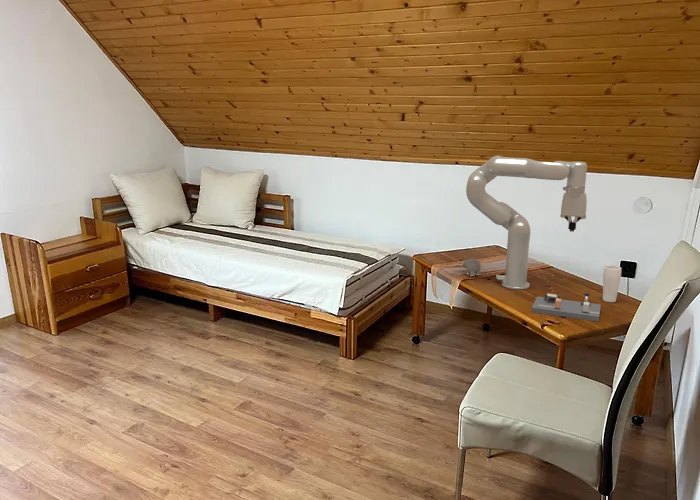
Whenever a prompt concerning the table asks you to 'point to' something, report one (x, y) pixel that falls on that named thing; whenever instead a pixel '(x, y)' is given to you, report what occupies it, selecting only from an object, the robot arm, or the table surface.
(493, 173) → the robot arm
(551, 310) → the switch panel
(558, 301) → the slide paddle
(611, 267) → the drinking glass
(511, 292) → the table surface
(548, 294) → the rocker switch
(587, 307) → the slide paddle
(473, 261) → the toy rhinoceros
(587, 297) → the toggle lever
